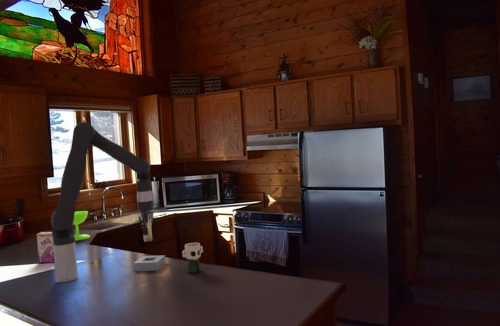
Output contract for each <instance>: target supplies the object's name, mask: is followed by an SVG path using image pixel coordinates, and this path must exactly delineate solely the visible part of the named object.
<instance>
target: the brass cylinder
mask: <svg viewBox="0 0 500 326" xmlns="http://www.w3.org/2000/svg"><path fill="white" fill-rule="evenodd" d="M143 241H144V242H145V243H146V242H152V241H153V233H152V225H151V220H149V223H148V235H145V236H144V235H143Z"/></svg>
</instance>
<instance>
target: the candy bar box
mask: <svg viewBox="0 0 500 326" xmlns="http://www.w3.org/2000/svg"><path fill="white" fill-rule="evenodd" d="M36 244H37V256H38V258H37V259H38V263H39V264H40V263H41V264H42V263H43V264H44V263H46V264H47V263H54V262H55V256H54V245H53V237H52V231H41V232H39V233H37V234H36Z"/></svg>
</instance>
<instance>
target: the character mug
mask: <svg viewBox="0 0 500 326" xmlns="http://www.w3.org/2000/svg"><path fill="white" fill-rule="evenodd" d="M203 252H204V248H203V246H202V245H201V243H200V242H189V243H186V244H184V250H182V253H181V254H182V258H185V259H187V265H186V267H187V268H186V269H187V272H188V273H190V274H191V273H192V274H193V273H199V272H201V271H202V270H201V269H202V268H201V264H200V263H201V262H200V260H199V258H201V255H202V254H203Z"/></svg>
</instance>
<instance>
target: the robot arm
mask: <svg viewBox="0 0 500 326" xmlns="http://www.w3.org/2000/svg"><path fill="white" fill-rule="evenodd" d="M72 133H73V134H72V140H71V145H70V150H69V154H68V156H67V160H66V163H65V166H64V169H63V173H62V176H61V177H62V178H61V183H60V192H59V199H58V204H57V206H56V209H55V210H54V211H53V213H52V214H51V216H50V217H51V218H50V223H51V232H52V237H53V245H54V256H55V262H53V267H54V277H55V278H54V279H55V283H69V282H72V281H75V280H77V279H78V278H79V272H78V264H77V263H78V261H77V260H78V259H77V248H76V241H75V236H74V235H75V232H74V231H75V230H74V224H73V221H74V213H75V212H76V206H77V201H78V199H79V195H80V192H81V190H82V186H83V183H84V178H85V174H86V170H87V169H86V168H87V155H88V150H89V148H90V147H89V146H92V147H95V148H97V149H99V150H101V152H104V153H105V154H107V156H109V157H111V158H112V159H114V160H116V161H117V162H118V163H120V164H123V166H126V167H128V168H129V169H130V170H131V171H133V172H134V173H136V185H135V186H136V201H137V203H136V204H137V210H138V211H140V212H141V214H140V216H138V219H139V225H140V228H142V231H143V237H144V236H145V235H148V223H149V220H151V226H152V224H153V223H154V212H153V211H151V210H153V209H154V197H153V193H152V182H151V165H150V163H149V162H148V161H147V160H146V159H143V158H141V157H138V156H137V155H135V154H134V153H133V152H132V151H130V150H128V148H127V149H126V148H125V147H123V146H121V145H120V144H118V143H116V142H113V140H110V139H108V138H106V137H105V136H103V134H101V133H99V131H97V130H96V129H95V127H94V126H93V125H92V124H90V123H89V122H86V121H81V122H78V123H77V124H76V125H75V126H74V128H73V131H72Z"/></svg>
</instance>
